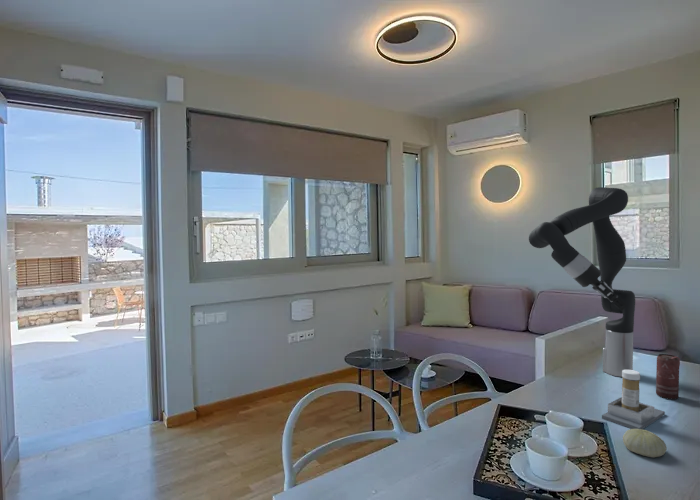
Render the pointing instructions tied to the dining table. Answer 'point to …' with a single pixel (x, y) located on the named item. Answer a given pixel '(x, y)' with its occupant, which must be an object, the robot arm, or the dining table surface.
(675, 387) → the can
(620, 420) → the slate board
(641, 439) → the sea urchin shell
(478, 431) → the dining table surface
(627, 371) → the sprinkles bottle
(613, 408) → the collar
